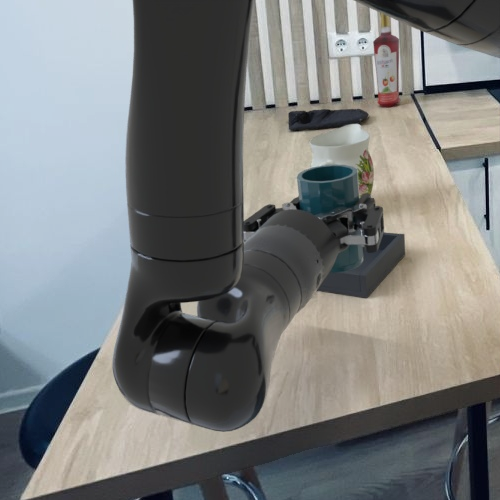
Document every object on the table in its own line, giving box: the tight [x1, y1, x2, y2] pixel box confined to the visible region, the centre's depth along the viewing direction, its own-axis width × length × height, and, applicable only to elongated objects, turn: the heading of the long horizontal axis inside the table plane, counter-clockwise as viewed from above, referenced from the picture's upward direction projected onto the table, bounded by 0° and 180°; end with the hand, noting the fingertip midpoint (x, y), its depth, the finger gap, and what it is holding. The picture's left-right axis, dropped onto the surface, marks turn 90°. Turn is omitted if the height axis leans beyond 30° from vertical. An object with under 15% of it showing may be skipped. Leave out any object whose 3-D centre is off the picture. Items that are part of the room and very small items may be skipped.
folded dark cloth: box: [287, 108, 370, 132], centre depth 184 cm, size 15×22×5 cm
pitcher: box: [309, 123, 375, 198], centre depth 114 cm, size 11×18×14 cm, turn 151°
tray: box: [316, 231, 406, 299], centre depth 96 cm, size 18×15×3 cm
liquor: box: [372, 12, 401, 108], centre depth 192 cm, size 7×7×28 cm
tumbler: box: [296, 165, 364, 273], centre depth 70 cm, size 6×6×10 cm
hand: (336, 201), depth 71 cm, fingers closed on tumbler, 6 cm apart
